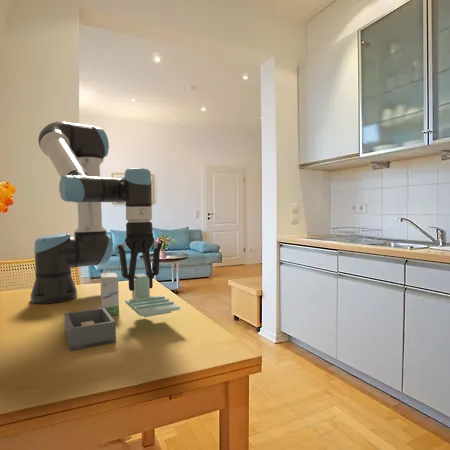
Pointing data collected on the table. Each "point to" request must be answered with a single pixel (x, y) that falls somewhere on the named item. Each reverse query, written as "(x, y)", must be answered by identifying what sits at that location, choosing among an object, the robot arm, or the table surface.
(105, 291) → the ink box
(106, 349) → the table surface
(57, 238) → the robot arm
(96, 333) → the tub
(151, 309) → the lid
